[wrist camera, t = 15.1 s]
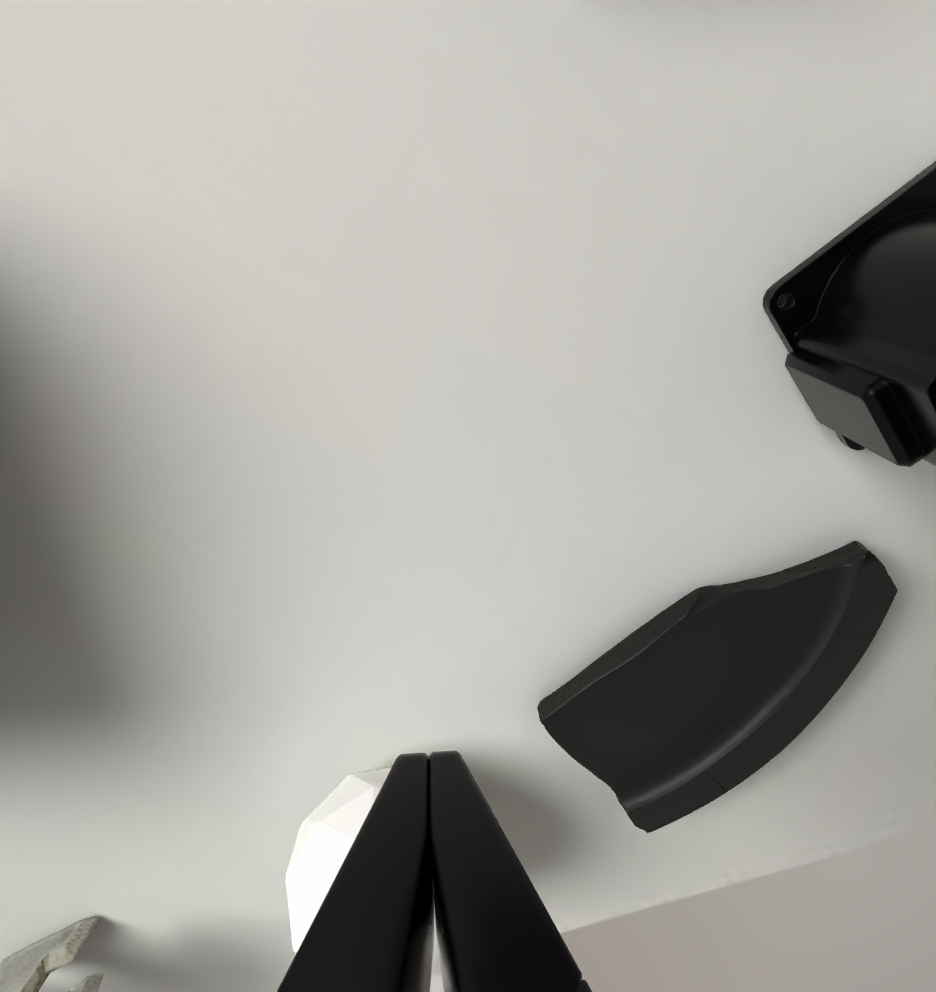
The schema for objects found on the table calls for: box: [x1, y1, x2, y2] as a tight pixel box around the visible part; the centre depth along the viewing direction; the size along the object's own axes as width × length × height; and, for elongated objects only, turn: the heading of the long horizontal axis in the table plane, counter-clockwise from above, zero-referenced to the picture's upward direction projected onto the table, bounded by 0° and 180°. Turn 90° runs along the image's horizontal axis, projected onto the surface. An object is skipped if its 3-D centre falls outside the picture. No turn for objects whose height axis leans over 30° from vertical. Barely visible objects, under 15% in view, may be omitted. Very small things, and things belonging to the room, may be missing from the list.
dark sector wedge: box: [538, 541, 897, 833], centre depth 25 cm, size 8×14×2 cm, turn 130°
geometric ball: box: [285, 767, 444, 992], centre depth 24 cm, size 8×8×8 cm
